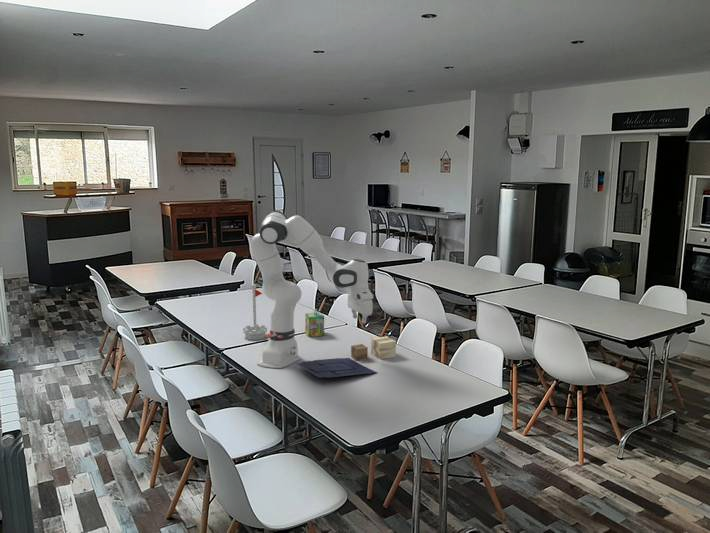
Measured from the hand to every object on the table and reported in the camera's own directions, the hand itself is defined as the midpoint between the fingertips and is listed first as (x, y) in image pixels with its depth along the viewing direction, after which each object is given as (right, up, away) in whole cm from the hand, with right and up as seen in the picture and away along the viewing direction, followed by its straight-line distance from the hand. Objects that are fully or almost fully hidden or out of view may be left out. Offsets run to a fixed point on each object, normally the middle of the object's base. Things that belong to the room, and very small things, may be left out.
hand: (359, 320), depth 257 cm
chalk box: (-25, -12, +42) cm, 50 cm away
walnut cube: (0, -19, +3) cm, 19 cm away
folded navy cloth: (-11, -22, -15) cm, 29 cm away
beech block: (+12, -18, +7) cm, 23 cm away
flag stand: (-58, -13, +38) cm, 70 cm away
